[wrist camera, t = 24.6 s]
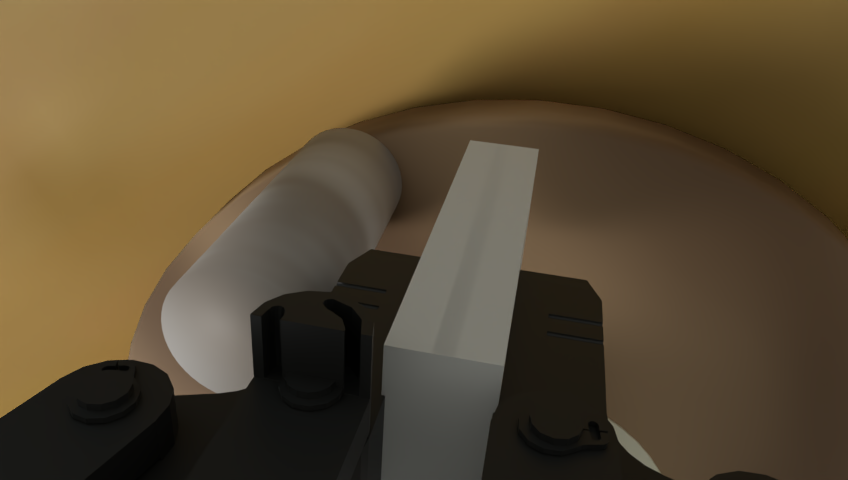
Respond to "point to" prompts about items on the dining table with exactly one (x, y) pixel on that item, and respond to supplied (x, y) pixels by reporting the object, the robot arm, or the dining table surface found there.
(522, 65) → the dining table surface
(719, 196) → the brown wide round piece
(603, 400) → the robot arm
